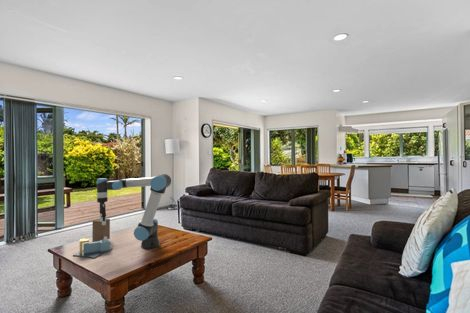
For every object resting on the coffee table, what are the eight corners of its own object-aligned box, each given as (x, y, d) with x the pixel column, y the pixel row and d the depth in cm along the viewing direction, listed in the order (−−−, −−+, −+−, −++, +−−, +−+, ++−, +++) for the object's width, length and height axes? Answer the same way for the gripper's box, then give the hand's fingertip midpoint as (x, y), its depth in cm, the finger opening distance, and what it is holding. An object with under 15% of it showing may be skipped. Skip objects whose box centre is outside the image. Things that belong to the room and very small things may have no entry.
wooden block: (101, 244, 215) (102, 221, 215) (92, 243, 217) (92, 220, 217) (109, 240, 225) (110, 218, 225) (100, 239, 227) (100, 218, 227)
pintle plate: (112, 249, 205) (112, 235, 205) (94, 258, 186) (94, 243, 186) (92, 246, 209) (92, 233, 209) (72, 256, 190) (73, 241, 190)
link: (109, 247, 206) (109, 238, 206) (110, 249, 200) (110, 241, 200) (83, 251, 196) (83, 242, 196) (83, 254, 190) (83, 245, 190)
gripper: (95, 195, 210) (96, 220, 210) (98, 199, 189) (99, 227, 189) (105, 194, 214) (105, 219, 214) (109, 198, 194) (110, 225, 194)
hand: (102, 223), depth 202 cm, fingers open, 13 cm apart
